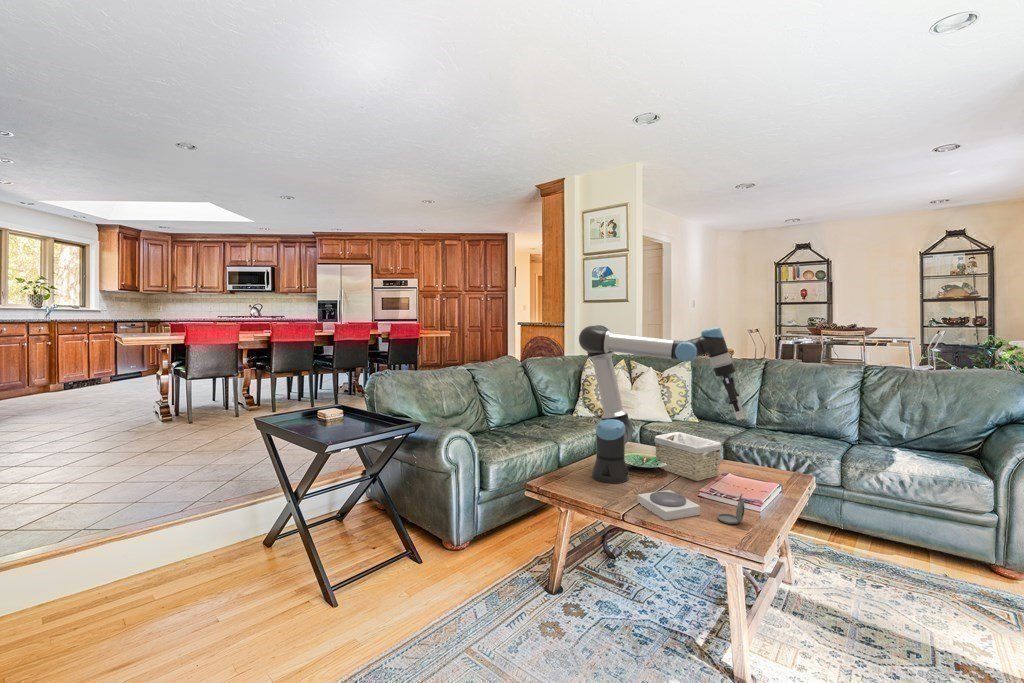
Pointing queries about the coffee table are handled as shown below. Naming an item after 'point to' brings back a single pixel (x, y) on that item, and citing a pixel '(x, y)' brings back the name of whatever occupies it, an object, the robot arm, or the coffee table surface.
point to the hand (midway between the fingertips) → (740, 416)
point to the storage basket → (688, 455)
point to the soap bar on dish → (668, 505)
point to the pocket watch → (731, 518)
